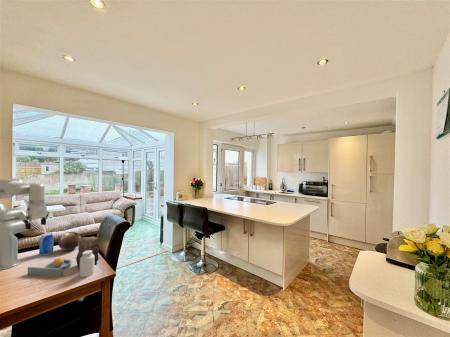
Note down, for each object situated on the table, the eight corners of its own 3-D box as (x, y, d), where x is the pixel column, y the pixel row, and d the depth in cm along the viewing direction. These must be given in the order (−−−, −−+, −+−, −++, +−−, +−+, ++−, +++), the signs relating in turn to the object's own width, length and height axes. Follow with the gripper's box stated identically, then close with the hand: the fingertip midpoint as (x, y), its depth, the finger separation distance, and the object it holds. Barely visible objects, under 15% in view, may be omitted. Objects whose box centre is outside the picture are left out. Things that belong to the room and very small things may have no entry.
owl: (75, 265, 136) (76, 237, 136) (95, 259, 146) (96, 233, 146) (79, 271, 128) (80, 242, 128) (100, 264, 137) (101, 237, 137)
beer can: (44, 256, 148) (45, 236, 148) (36, 255, 150) (36, 235, 150) (56, 252, 156) (56, 233, 156) (48, 250, 158) (48, 232, 158)
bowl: (38, 272, 125) (38, 269, 125) (58, 262, 139) (58, 259, 140) (57, 274, 124) (57, 270, 124) (76, 263, 139) (76, 260, 139)
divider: (27, 274, 123) (27, 267, 123) (29, 273, 124) (29, 266, 124) (61, 276, 122) (61, 269, 122) (62, 275, 123) (62, 268, 123)
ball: (58, 268, 129) (58, 260, 129) (50, 268, 129) (50, 259, 129) (66, 264, 135) (66, 256, 135) (58, 264, 135) (58, 255, 135)
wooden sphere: (53, 252, 155) (53, 234, 155) (70, 245, 169) (70, 229, 170) (69, 254, 153) (69, 236, 153) (85, 246, 168) (85, 230, 168)
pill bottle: (77, 278, 120) (78, 255, 120) (81, 272, 127) (82, 250, 127) (92, 275, 123) (93, 253, 123) (95, 269, 130) (96, 248, 131)
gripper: (27, 204, 119) (26, 231, 119) (54, 200, 136) (53, 223, 136) (16, 204, 120) (16, 230, 120) (44, 199, 137) (44, 223, 137)
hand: (36, 226), depth 128 cm, fingers open, 9 cm apart
